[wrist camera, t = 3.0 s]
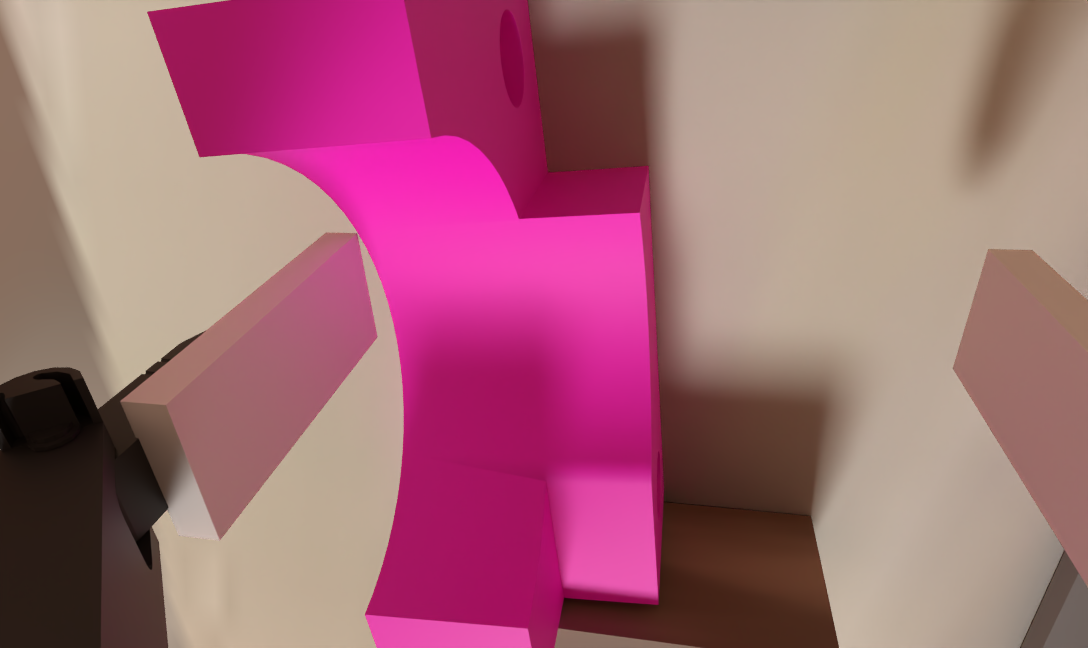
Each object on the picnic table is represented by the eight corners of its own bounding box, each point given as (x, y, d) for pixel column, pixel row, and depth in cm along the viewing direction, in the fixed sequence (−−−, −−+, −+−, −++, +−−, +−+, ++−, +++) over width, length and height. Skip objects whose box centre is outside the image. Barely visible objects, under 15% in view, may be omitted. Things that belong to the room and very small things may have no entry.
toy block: (664, 485, 21) (652, 718, 15) (476, 478, 23) (392, 689, 16) (638, -53, 14) (596, -52, 8) (368, -16, 16) (146, 12, 9)
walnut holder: (802, 562, 21) (830, 716, 17) (498, 529, 23) (454, 660, 19) (972, -314, 11) (1143, -471, 7) (413, -250, 13) (281, -344, 9)
